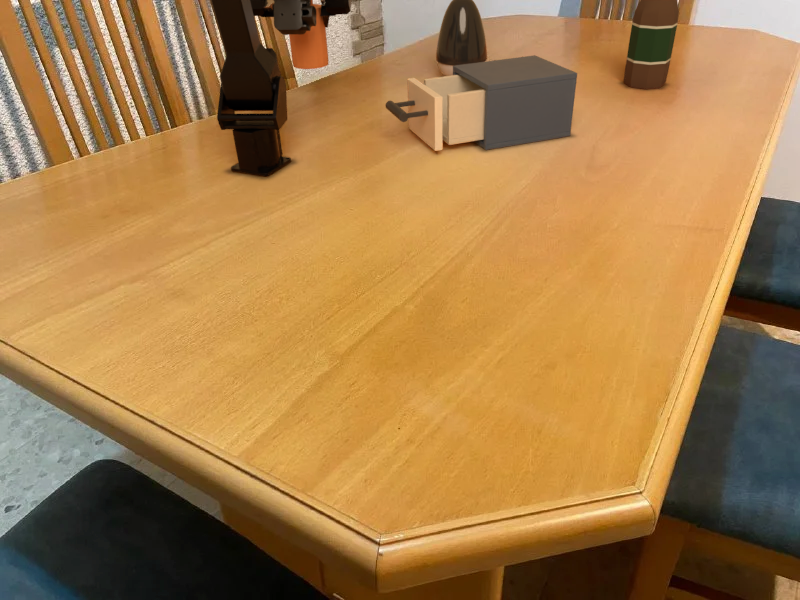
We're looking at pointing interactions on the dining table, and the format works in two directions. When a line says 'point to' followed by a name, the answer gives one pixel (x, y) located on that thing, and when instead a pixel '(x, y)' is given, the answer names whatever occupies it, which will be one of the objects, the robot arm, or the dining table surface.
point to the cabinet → (523, 99)
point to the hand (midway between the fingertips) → (308, 25)
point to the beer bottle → (651, 43)
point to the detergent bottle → (310, 45)
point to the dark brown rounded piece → (460, 37)
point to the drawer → (443, 110)
